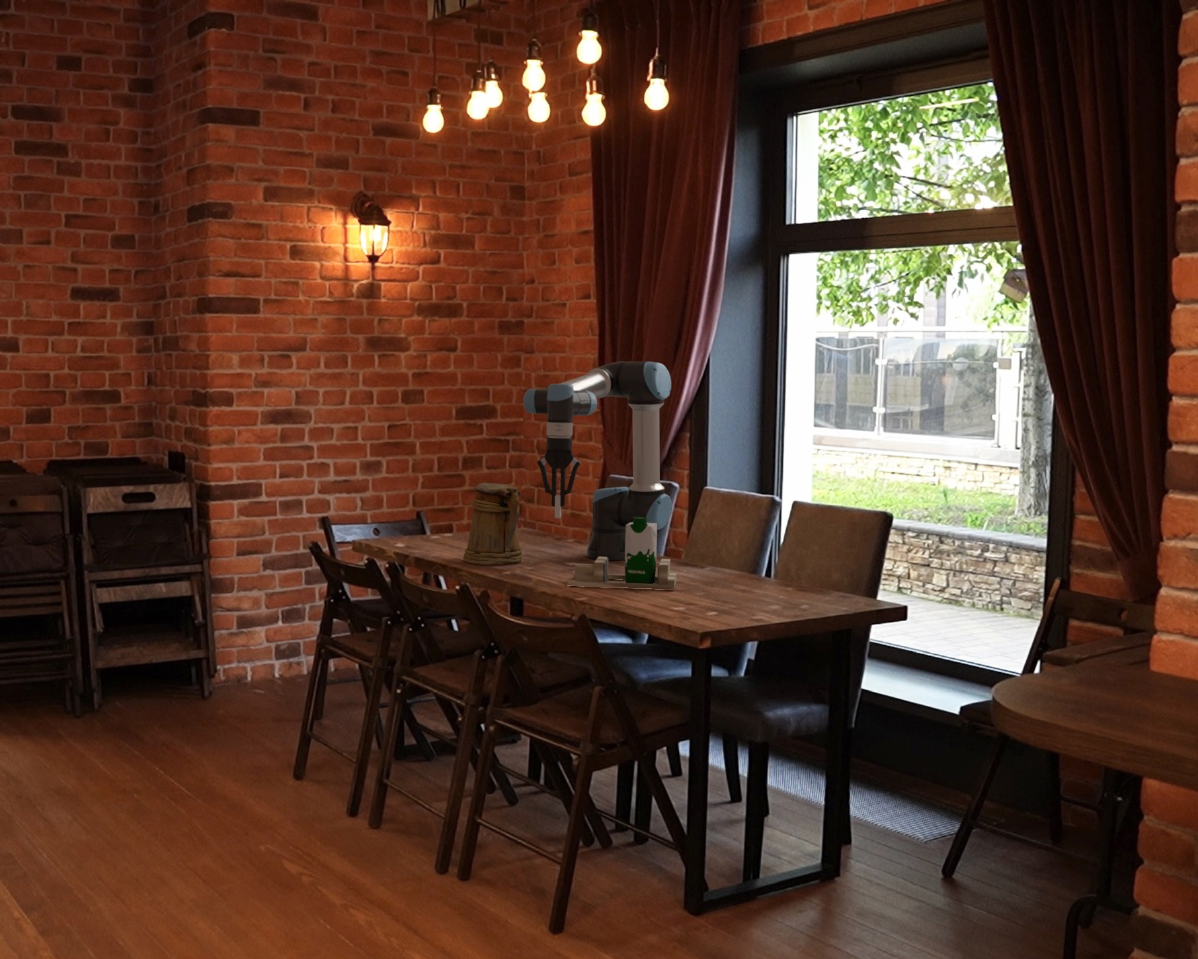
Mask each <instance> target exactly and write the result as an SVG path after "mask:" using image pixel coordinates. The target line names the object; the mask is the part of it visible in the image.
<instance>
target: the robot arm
mask: <svg viewBox="0 0 1198 959" xmlns="http://www.w3.org/2000/svg"><path fill="white" fill-rule="evenodd" d="M671 378H672V377H671V375H670V372H669V370H668V369H667V367H666V366H665V365H664V364H663V363H660V362H656V361H655V362H654V361H623V360H621V361H615V362H611V363H607V364H605V365H601V366H598V367H595V368H592V369H590V370H589V371H588V372H587V373H586V374H585V375H581V376H578V377H575V378H572V379H569V380H566V381H562V382H560V383H550V384H549V385H548V386H547V387H543V388H530V389H528V390H526V391H525V393H524V395H523V400H522V402H523V407H524V410H525V411H526V412H527V413H529V414H535V415H546V416H547V419H546V435H547V436H548V437H547V438H546V446H545V450H546V452H545V454H544V456H543V458H541V459H538V460H537V461H536V464H537V466H538V467H539V469H540V474H541V478H542V483H543V487H544V491H545V493H546V494H549V495H551V504H550V506H552V507H554V519H560V518H562V507H563V508H564V507H565V505H566V495H569V494H571V493H572V490H573V488H574V487H573V486H574V483H575V479H576V475H577V471H578V469H579V467H580V466H581V465H582V461H579V460H578V459H575V457H574V454H573V439H572V438H571V437H572V436H573V430H574V428H573V426H574V424H573V420H574V419H573V418H574V417H586V416H590V415H592V414H594V412H595V411H596V410H597V407H598V400H597V399H601V398H604V397H605V398H606V397H612V398H613V397H614V398H615V397H616V398H627V405H628V406H629V407H630V408H631V409H632V475H633V476H632V484H631V485H630V486H629V487H628V486H617V487H607V488H606V487H605V488H600V489H596V490H594V492H593V494H592V495H593V496H592V497H593V498H592V502H591V503H592V533H591V536H590V539H589V542H588V546H587V549H586V557H587V558H589V559H593V560H597V558H598V557H607V558H608V561H625V538H626V525H627V524H629V523H632V522H633V517H646V518H647V523H657V531H658V530H661V529H663V528H664V527H665V526H666V524H668V521H669V520H670V518H671V515H672V509H673V502H672V500H671V496H669V495H668V494H666V493H665V486H663V485H662V484H661V482H660V481H661V480H660V479H661V477H660V473H661V470H660V469H661V468H660V467H661V466H660V462H661V461H660V457H661V456H660V453H661V452H660V451H661V450H660V444H661V443H660V409H661V408H662V407H663V406H664V405H665V399H667V398H668V397H670V395H671V391H672V379H671ZM546 463H547V464H548V466H549V467H550V468H551V486H550V482H549V476H548V472H547V468H546V465H547V464H546ZM570 464H571V466H572V469H571V473H570V476H569V480H568V484H567V483H566V482H567V481H566V480H567V478H566V476H567V473H566V472H567V468H568V467H569V465H570ZM558 470H560V483H559V484H560V487H559V494H557V493H558V492H557V490H558V489H557V488H558V487H557V486H558ZM566 484H567V488H566Z"/></svg>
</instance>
